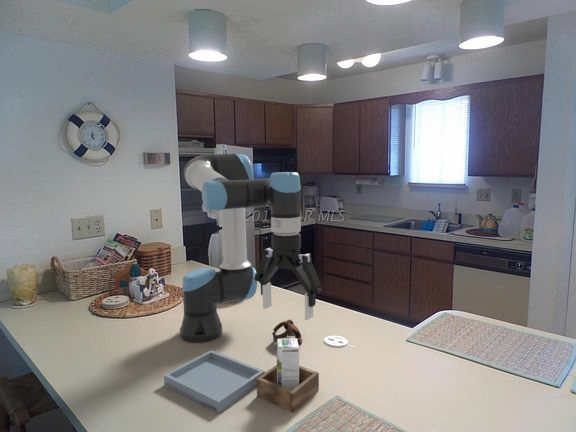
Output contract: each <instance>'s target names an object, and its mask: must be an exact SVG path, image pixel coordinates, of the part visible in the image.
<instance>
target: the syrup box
mask: <svg viewBox="0 0 576 432" xmlns="http://www.w3.org/2000/svg"><path fill="white" fill-rule="evenodd" d="M299 344H300V343H299V338H293V337H287V338H282V339H277V342H276V346H277V348H276V350H277V351H276V365H277V385H280V386H282V387H285V388H287V389H290V390H294V389H295V388H296V387H297V386H299V366H300V345H299Z"/></svg>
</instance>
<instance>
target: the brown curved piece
mask: <svg viewBox="0 0 576 432" xmlns="http://www.w3.org/2000/svg"><path fill="white" fill-rule="evenodd" d="M282 327H283V328H284V330H285V331H284V332H282V333H281V334H277V332H278V330H279V329H281V328H282ZM271 335H272V337H273V339H272V340H273V342H274V343H277V339H282V338H288V337H295V338H296V339H298V342H299V344H300V345H302V344H303V338H302V334H301V332H300V330H299V328H298V327H297V326H296V325H295V324H294V321H293V320H292V319H287V320H286V321H281V322H280V323H278V324H277V325H276V326H274V328H273V329H272V334H271Z"/></svg>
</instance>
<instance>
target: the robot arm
mask: <svg viewBox="0 0 576 432" xmlns="http://www.w3.org/2000/svg"><path fill="white" fill-rule="evenodd" d="M183 176H184V180H185V182H186V183H187V184H188V185H189V186H190V187H191V188H193V189H196V190H199V191H200V192H201V199H202V203H203V207H204V208H205V209H206V210H209V211H211V210H213V211H214V210H215V211H221V227H222V228H221V232H222V252H223V253H222V254H223V255H222V256H223V261H222V263H221V264H220V265H219V271H216V270H215V269H214V268H212V267H207V268H206V267H201V268H197V269H194V270H191V271H189V272H187V273H185V274H184V276H183V277H182V286H181V290H182V299H183V300H182V301H183V302H182V303H183V317H182V321H181V322H182V323H181V326H180V329H179V337H180V339H181V340H183V341H185V342H186V343H187V342H189V343H197V344H198V343H206V342H210V341H213V340H216V339H218V338H219V337H221V335H222V334H223V324H222V322H221V320H220V316H219V314H218V311H217V310H218V309H217V308H218V307H217V305H219V304H220V305H221V304H226V303H233V302H237V301H238V302H239V301H240V302H242V301H244V300H245V301H246V300H249V299H252V298H253V297H254V296H255V294H256V292H257V289H258V288H257V287H258V283H259V284H260V295H261V296H262V309H264V310H267V309H269V308H270V307H272V283H271V282H270V280H271V279H272V278H273V276H274V275H275V274H276V272H277V270H279V269H282V270H283V269H285V270H287V271H291V272H292V273H293V274H294V275H295V277H296V278H297V279H298V281H299V282H300V284H301V286H302V287H303V289H304V290H305V292H306V293H305V294H304V320H305V321H308V320H310V319H312V318H313V317H314V306H316V304H317V303H316V299H317V298H316V295H317V294H318V293H320V292H322V291H323V289H324V288H323V285H322V283H321V281H320V278H319V276H318V274H317V271H316V268H315V267H314V264H313V261H312V254H311V253H306V254H305V253H304V254H301V246H302V242H301V241H302V239H301V238H302V235H301V234H300V232H301V230H302V229H301V228H302V226H301V225H302V224H301V222H302V220H301V219H302V218H301V217H302V216H301V189H302V188H301V187H302V186H301V180H300V174H299V173H298V172H296V171H295V172H293V171H291V172H290V171H284V172H283V171H282V172H280V171H277V172H272V173H271V174H270V176H269V177H268V178H267V177H266V178H265V177H264V178H260V179H259V178H257V179H255V178H254V177H255V175H254V168H253V165H252V162H251V161H250V158H249V157H248V156H247V155H246V154H241V153H239V154H238V153H220V154H217V153H215V154H214V153H213V154H211V153H207V154H201V155H198V156H195V157H194V158H191V159H190V160H189V161H188V162H187V163H186V164H185V166H184V168H183ZM263 207H265V208H266V207H270V225H271V226H270V228H271V233H272V234H271V235H270V236H271V247H268V248H264V249H263V250H262V258H261V260H260V262H259V265H258V268H257V270H256V269H255V267H252V263H251V262H250V261H249V260H248V251H247V248H248V247H247V229H246V225H247V223H246V209H247V208H263ZM272 258H273V261H272V263H270V262H271V259H272Z"/></svg>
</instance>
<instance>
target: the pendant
mask: <svg viewBox="0 0 576 432" xmlns="http://www.w3.org/2000/svg"><path fill="white" fill-rule="evenodd" d="M323 340H324V341H323V342H324V343H325V344H326V345H327V346H331V347H333V348H343V347H346V346H347V347H350V348H355V346H354V345H350V344H348V339H346V338H345V337H343V336H339V335H329V336H325V337H324V339H323Z"/></svg>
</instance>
